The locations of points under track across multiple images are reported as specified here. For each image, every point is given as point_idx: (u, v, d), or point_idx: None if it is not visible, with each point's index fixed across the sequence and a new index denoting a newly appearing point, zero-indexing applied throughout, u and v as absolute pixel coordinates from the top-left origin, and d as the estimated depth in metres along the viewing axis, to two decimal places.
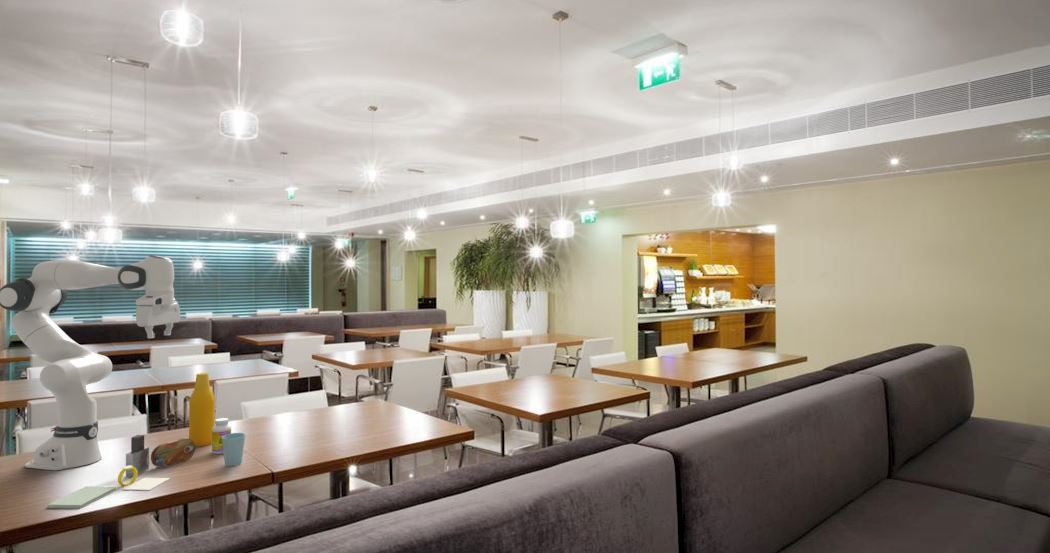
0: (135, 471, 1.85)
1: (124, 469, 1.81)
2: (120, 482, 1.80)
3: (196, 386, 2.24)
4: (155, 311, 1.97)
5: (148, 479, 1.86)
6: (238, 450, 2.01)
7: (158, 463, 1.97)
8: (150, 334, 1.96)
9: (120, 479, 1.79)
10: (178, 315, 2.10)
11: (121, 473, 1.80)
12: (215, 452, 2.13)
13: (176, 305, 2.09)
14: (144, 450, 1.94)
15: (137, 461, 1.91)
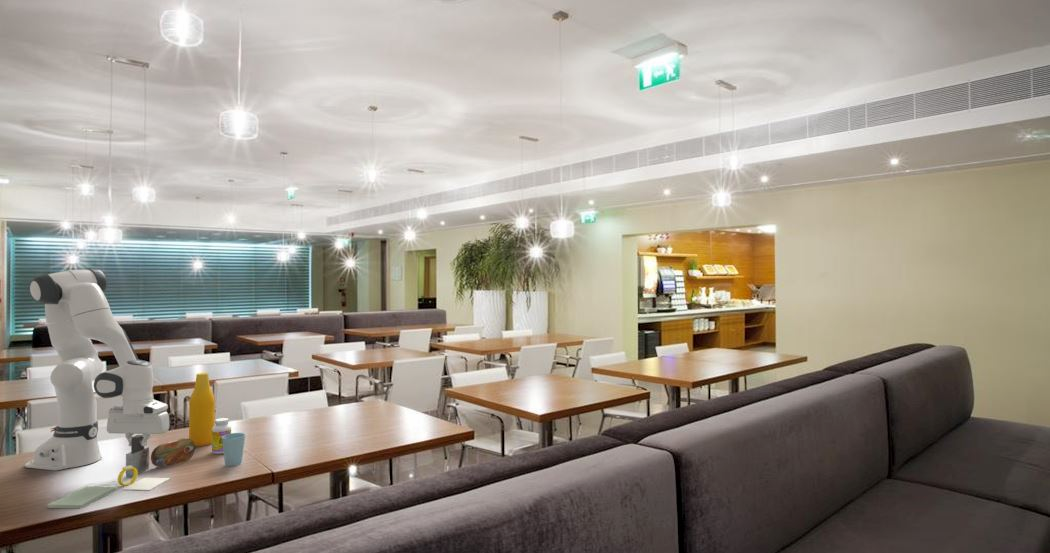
0: (135, 471, 1.85)
1: (124, 469, 1.81)
2: (120, 482, 1.80)
3: (196, 386, 2.24)
4: None
5: (148, 479, 1.86)
6: (238, 450, 2.01)
7: (158, 463, 1.97)
8: (145, 441, 1.93)
9: (120, 479, 1.79)
10: None
11: (121, 473, 1.80)
12: (215, 452, 2.13)
13: None
14: (144, 450, 1.94)
15: (137, 461, 1.91)
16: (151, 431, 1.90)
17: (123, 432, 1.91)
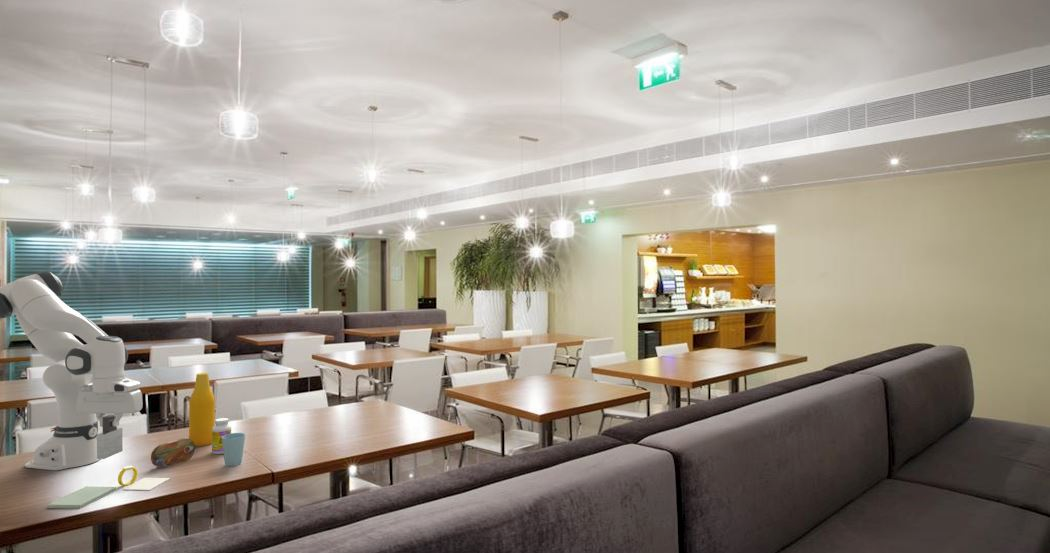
0: (135, 471, 1.85)
1: (124, 469, 1.81)
2: (120, 482, 1.80)
3: (196, 386, 2.24)
4: None
5: (148, 479, 1.86)
6: (238, 450, 2.01)
7: (158, 463, 1.97)
8: (118, 421, 1.82)
9: (120, 479, 1.79)
10: None
11: (121, 473, 1.80)
12: (215, 452, 2.13)
13: None
14: (116, 431, 1.84)
15: (109, 442, 1.81)
16: (123, 410, 1.80)
17: (93, 412, 1.81)
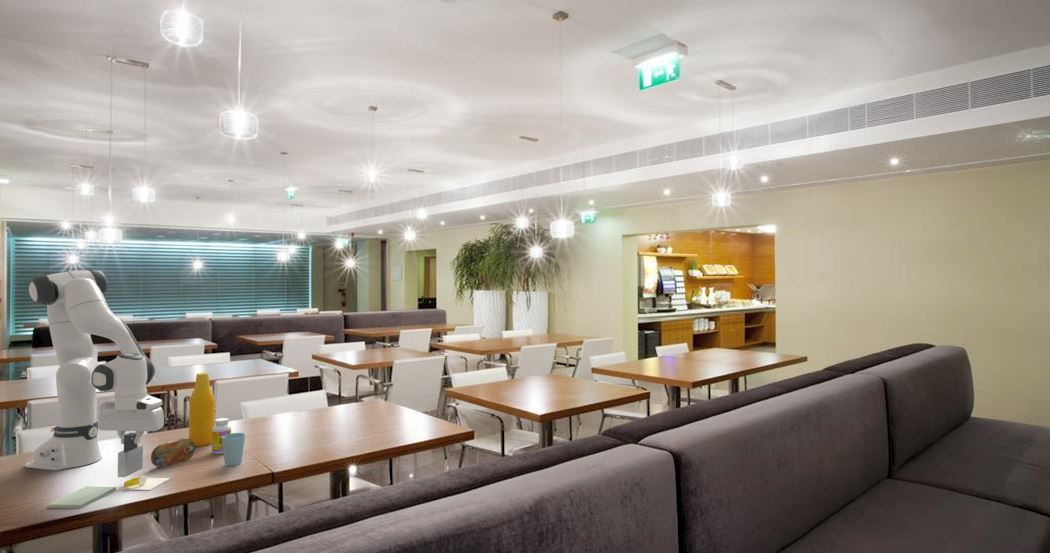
0: None
1: (138, 483, 1.79)
2: (125, 485, 1.79)
3: (196, 386, 2.24)
4: None
5: (148, 479, 1.86)
6: (238, 450, 2.01)
7: (158, 463, 1.97)
8: (139, 439, 1.82)
9: (127, 486, 1.79)
10: None
11: (133, 484, 1.79)
12: (215, 452, 2.13)
13: None
14: (137, 449, 1.84)
15: (130, 460, 1.81)
16: (144, 428, 1.80)
17: (115, 429, 1.80)
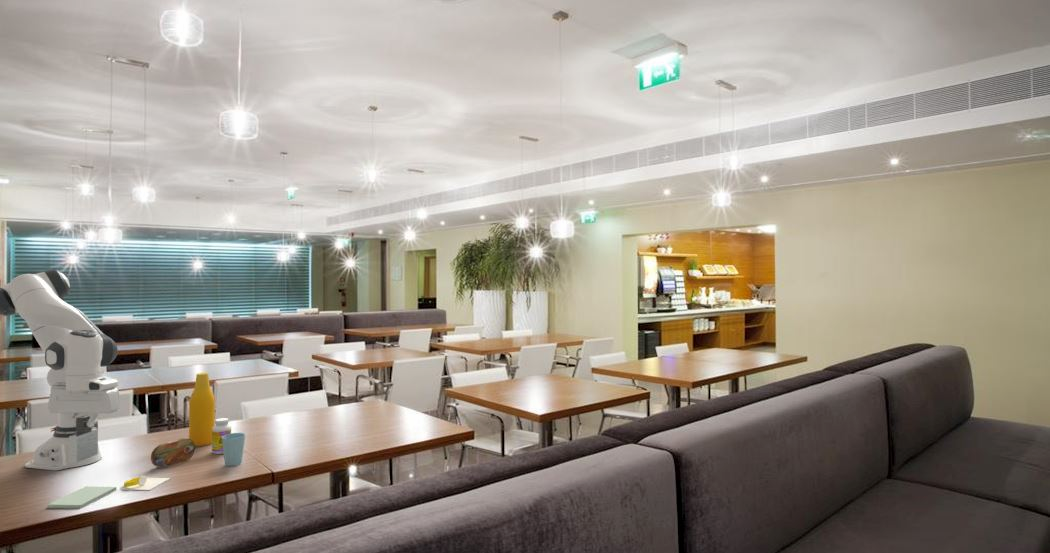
0: None
1: (138, 483, 1.79)
2: (125, 485, 1.79)
3: (196, 386, 2.24)
4: None
5: (148, 479, 1.86)
6: (238, 450, 2.01)
7: (158, 463, 1.97)
8: (92, 422, 1.70)
9: (127, 486, 1.79)
10: None
11: (133, 484, 1.79)
12: (215, 452, 2.13)
13: None
14: (91, 433, 1.72)
15: (83, 444, 1.69)
16: (98, 410, 1.68)
17: (66, 411, 1.69)
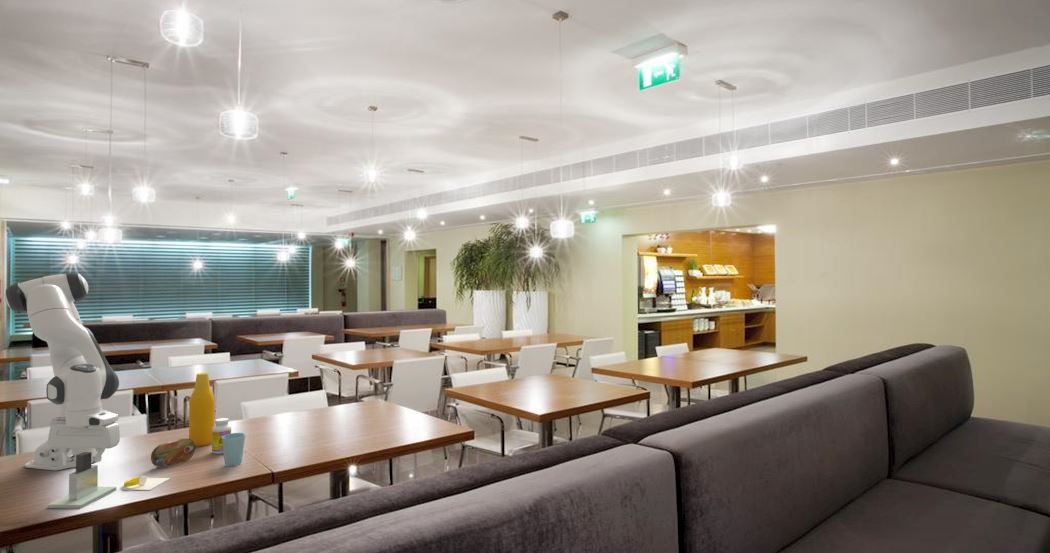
0: None
1: (138, 483, 1.79)
2: (125, 485, 1.79)
3: (196, 386, 2.24)
4: None
5: (148, 479, 1.86)
6: (238, 450, 2.01)
7: (158, 463, 1.97)
8: (99, 456, 1.71)
9: (127, 486, 1.79)
10: None
11: (133, 484, 1.79)
12: (215, 452, 2.13)
13: None
14: (91, 469, 1.72)
15: (83, 482, 1.69)
16: (98, 445, 1.68)
17: (66, 446, 1.69)
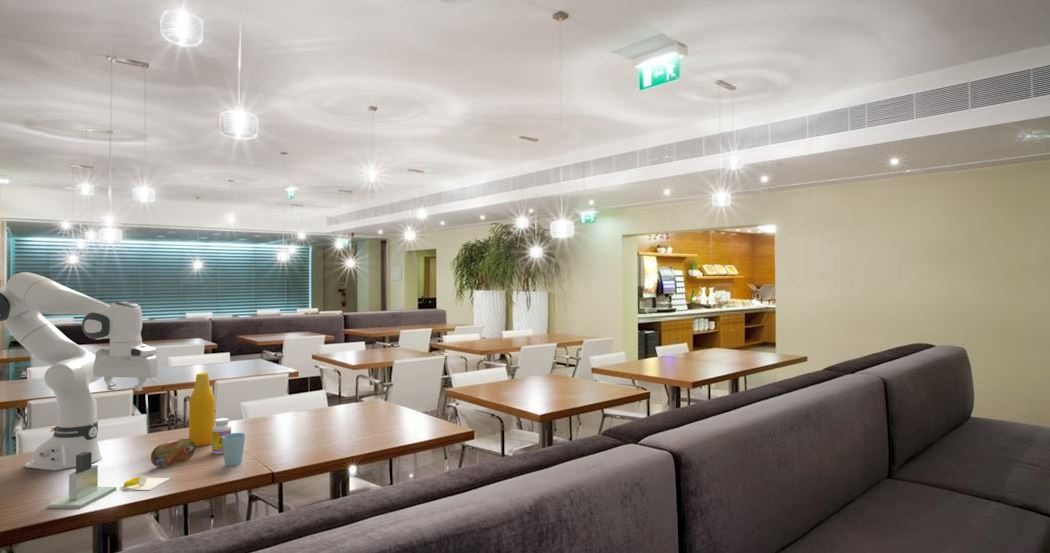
0: None
1: (138, 483, 1.79)
2: (125, 485, 1.79)
3: (196, 386, 2.24)
4: None
5: (148, 479, 1.86)
6: (238, 450, 2.01)
7: (158, 463, 1.97)
8: (141, 386, 1.85)
9: (127, 486, 1.79)
10: None
11: (133, 484, 1.79)
12: (215, 452, 2.13)
13: None
14: (91, 469, 1.72)
15: (83, 482, 1.69)
16: (138, 375, 1.83)
17: (110, 375, 1.84)
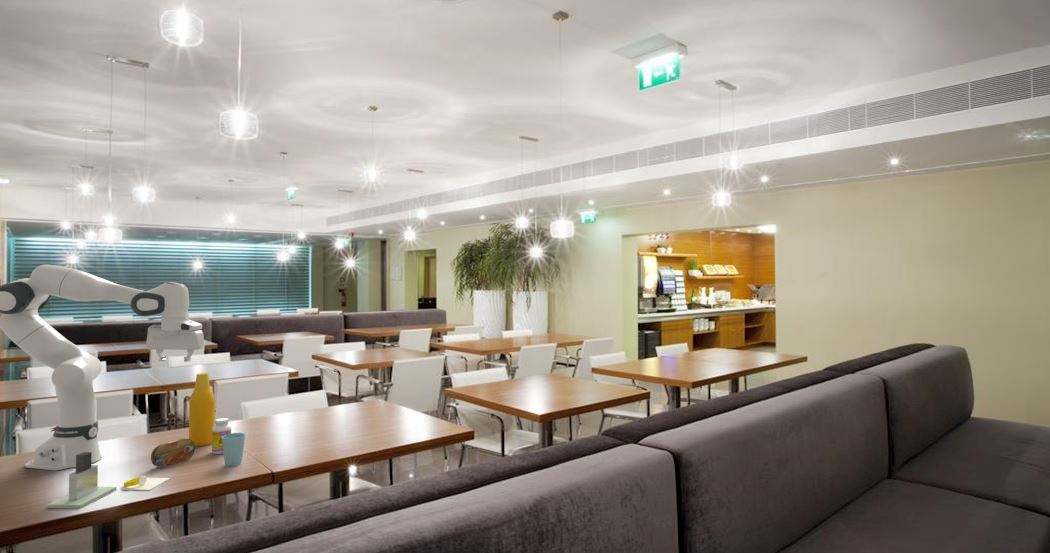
0: None
1: (138, 483, 1.79)
2: (125, 485, 1.79)
3: (196, 386, 2.24)
4: None
5: (148, 479, 1.86)
6: (238, 450, 2.01)
7: (158, 463, 1.97)
8: (189, 357, 2.07)
9: (127, 486, 1.79)
10: None
11: (133, 484, 1.79)
12: (215, 452, 2.13)
13: None
14: (91, 469, 1.72)
15: (83, 482, 1.69)
16: (187, 347, 2.05)
17: (161, 348, 2.05)
